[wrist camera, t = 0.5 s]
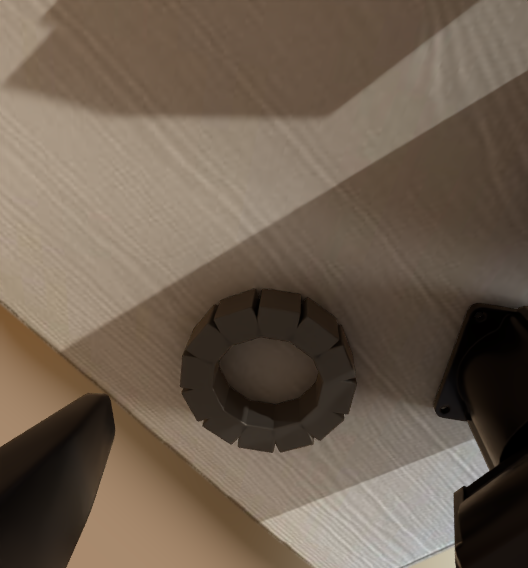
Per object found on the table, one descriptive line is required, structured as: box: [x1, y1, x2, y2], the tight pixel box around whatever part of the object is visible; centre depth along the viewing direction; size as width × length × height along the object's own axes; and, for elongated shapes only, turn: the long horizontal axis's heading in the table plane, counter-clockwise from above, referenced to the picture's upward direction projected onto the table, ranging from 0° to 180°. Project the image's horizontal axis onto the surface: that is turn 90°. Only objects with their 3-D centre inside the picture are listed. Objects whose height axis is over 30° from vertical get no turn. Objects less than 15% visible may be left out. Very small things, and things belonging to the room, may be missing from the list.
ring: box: [180, 289, 357, 453], centre depth 24 cm, size 8×8×2 cm
